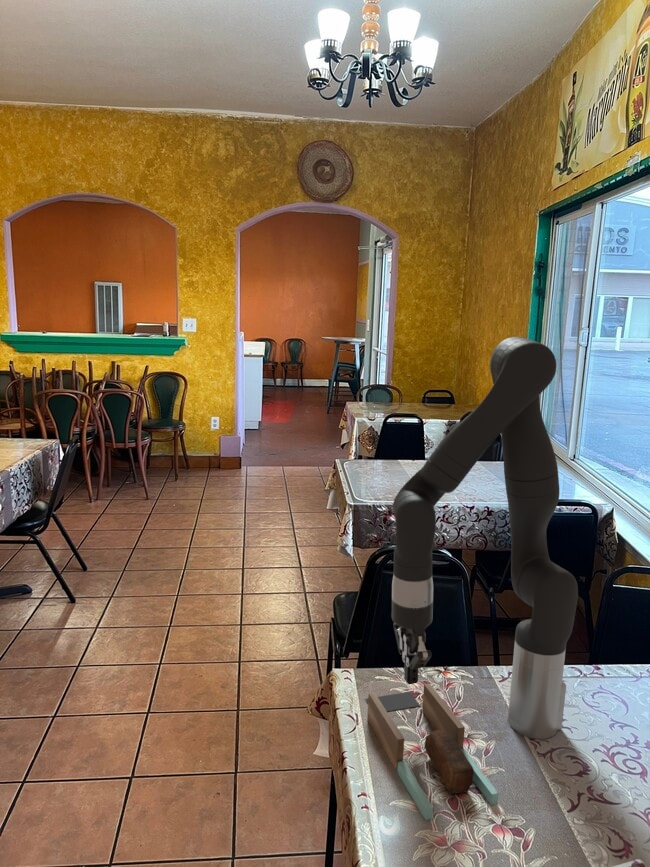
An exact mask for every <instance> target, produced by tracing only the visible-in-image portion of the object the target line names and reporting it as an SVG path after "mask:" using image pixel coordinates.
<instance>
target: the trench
mask: <svg viewBox="0 0 650 867" xmlns="http://www.w3.org/2000/svg"><path fill="white" fill-rule="evenodd" d="M422 693H423V695H422V707H421V708H422V710H421V711H422V713H423V714H424V716H425V718H427V721H429V722H430V724H431V726H432V728H434V731H435V730H438V729H439V730H444V731H445V732H447V733H449V734H451V735H452V737H453V738H454V740H455V741H456V743H457V744H458V746H459V747H460V749H464V743H465V742H464V741H465V729H466V728H465V725H464V724H463V723H462V722H461V721H460V719H459V718H458V717H457V716H456V714H455V713H454V712H453V711H452V710H451V708H450V707H449V706H448V704H447V703H446V702H445V700H444V699H443V698H442V697H441V696H440V695H439V693H438V692H437V691H436V689H435V688H433V686H432V684H431V683H424V684H423V692H422ZM378 697H379V696H378V695H377V694H376V692H368V703H367V717H366V718H367V722H368V724H369V726H370V728H371V729H372V731H373V733H374V734H375V737H376V738H377V740H378V741H379V743H380V745H381V747H382V748H383V750H384V752H385V753H386V755H387V757H388V758H389V761H390V762H391V764H392V765H393V767H394V768H395V771H397V770H398V762H401V761H404V752H405V750H404V749H405V737H404V736H403V734H402V733H401V731H400V729H399V728H398V726H397V725H396V723H395V722H394V721H393V719H392V717H391V715H390V714H389V712H387V711H386V709H385V708H384V706H383V705H382V703H381V702H380V700H379V699H378Z"/></svg>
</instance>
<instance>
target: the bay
mask: <svg viewBox="0 0 650 867" xmlns="http://www.w3.org/2000/svg"><path fill="white" fill-rule="evenodd" d="M461 750H462V752H463V753H464V755H465V756H466V758H467V759H468V761H469V763H470V764H471V765H472V767H473V770H474V775H473V779H472V782H473V783H474V784H475V785H476V787H477V788H478V790H479V791H480V792H481V794H482V795H483V796H484V798H485V799H486V800H487V802H488V804H490V805H491V806H494V805H498V804H499V792H498V791H497V789H496V788H495V787H494V785H493V783H492V782H491V781H490V780H489V778H488V777H487V776H486V775H485V773H484V771H483V770H482V769H481V768H480V767H479V766H478V764H477V763H476V762H475V760H474V759H473V758H472V757H471V755H470V754H469V752H468V751H467V750H466V749H465V748H463V749H461ZM396 772H397V774H398V776H399V777H400V780H401V781H402V783H403V785H404V787H405V788H406V790H407V791H408V793H409V795H410V796H411V797H412V800H413V802H414V803H415V805H416V807H417V808H418V810H419V812H420V813H421V815H422V817H423V818H424V820H425V821H428V820H433V818H434V806H433V805H432V804H431V801H430V800H429V799H428V797H427V795H426V794H425V792H424V790H423V789H422V788H421V786H420V784H419V782H418V781H417V779H416V777H415V776H414V774H413V773H412V771H411V770H410V768H409V766H408V765H407V763H406V761H405V760H403V761H401V762H398V770H396Z"/></svg>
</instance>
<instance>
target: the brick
mask: <svg viewBox="0 0 650 867" xmlns="http://www.w3.org/2000/svg"><path fill="white" fill-rule="evenodd" d="M424 749H425V751H426V753H427V755H428V758H429V760H430V762H431V763H432V766H433V767H434V769H435V770H436V772H437V773H438V775H439V777H440V779H441V781H442V783H443V784H444V787H445V788H446V790H447V791H448V793H449V794H450V795H453V794H462V793H468V792H469V790H470V787H472V785H473V780H472V779H473V775H474V770H473V767H472V765H471V764H470V763H469V761H468V759H467V758H466V756H465V755H464V753H463V752H462V750H461V749H460V747H459V746H458V744H457V743H456V741H455V740H454V738H453V737H452V735H451V734H449V733H447V732H445V731H444V730H439V729H438V730H435V729H434V730H433V731H430V733H429V734H428V735H427V736H426V737H425V743H424Z"/></svg>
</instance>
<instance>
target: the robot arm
mask: <svg viewBox="0 0 650 867" xmlns="http://www.w3.org/2000/svg"><path fill="white" fill-rule="evenodd" d="M556 359H557V358H556V356H555V354H554V352H553V351H552V349H551V348H549V346H547V345H545V344H543V343H541V342H540V341H539V342H538V341H535V340H533V339H529V338H525V337H521V336H520V337H519V336H512V337H508V338H505V339H503V340H502V341H501V342H500V343H499V344H498V345H496V346H495V348H494V349H493V352H492V354H491V358H490V362H489V370H490V374H491V379H492V383H493V384H492V387H491V389H490V391H488V393H487V394H486V396H485V397H484V398H483V400H482V401H481V402H480V403H479V404H478V405H477V407H475V409H473V411H471V412H470V414H468V415H466V417H464V419H463V420H461V421H460V422H459V423H457V425H455V427H453V428H452V429H450V431H449V432H448V433H447V434H446V435H445V436H444V438H443V439H442V440H441V441H440V443H439V444H438V445H437V446H436V448H435V449H433V450H434V451H432V453H431V455H430V456H429V457H428V459H427V460H426V461H425V463H424V465H423V466H422V467H421V468H420V469H419V470H418V471H416V473H415V474H414V475H412V477H410V478H409V480H408V481H407V482H405V484H404V485H403V486H401V488H400V489H399V491H398V492H397V494H396V496H395V498H394V499H393V504H392V511H393V515H394V519H395V533H396V534H395V540H396V542H395V543H396V545H395V546H394V550H393V576H392V582H391V619H392V622H393V624H392V625H393V631H394V634H395V639H396V644H397V649H398V653H399V655H400V656H401V655H402V656H401V658H402V662H403V663H404V664H403V665H404V667H403V668H404V669H403V670H404V671H403V672H404V674H403V675H404V676H403V679H404V681H405V682H406V684H407V685H414V684H417V683H418V682H419V669H422V668H425V667H426V665H427V663H429V661H430V659H431V658H432V656H433V654H432V650H430V649H429V650H427V649H426V646H425V643H426V642H427V639H426V636H427V635H426V631H425V630H426V628H427V627H428V626H430V625H431V624H432V622H433V618H434V617H433V613H434V612H433V610H434V581H433V547H434V542H435V535H436V528H437V526H436V525H437V517H436V510H435V506H436V504H438V502H439V501H440V500H441V498H443V496H444V495H445V494H450V493H453V492H454V491H455V490H456V489H457V488H458V487H459V486H460V485H461V483H462V482H463V480H465V478H466V477H467V475H468V474H469V472H471V470H472V469H473V468H474V466H475V464H477V462H478V461H479V459H480V458H481V457H482V456H483V454H484V453H485V452H486V450H487V449H489V447H490V446H491V445H492V443H493V442H494V441H495V440H496V439H497V437H499V436H500V435H501V436H500V438H501V448H502V450H501V451H502V459H503V473H504V482H505V483H504V484H505V492H506V499H507V504H508V505H507V506H508V507H507V508H508V519H509V527H510V536H511V537H510V539H511V540H510V541H511V542H510V543H511V544H510V545H511V546H510V548H511V550H510V551H511V553H510V554H511V555H510V556H511V557H510V559H511V560H510V561H511V562H510V564H511V565H510V573H511V574H510V577H511V585H512V588H513V591H514V593H515V594H516V596H517V597H518V598H519V599H520V600H522V601H523V602H524V603H525V604H527V605H528V606H529V607H531V608H532V614H531V618H529V619H525V620H522V621H520V622H518V624H517V625H516V628H515V636H514V646H513V657H512V658H513V659H512V669H511V679H510V680H511V681H510V689H509V690H510V691H509V702H508V710H507V711H508V713H507V721H508V724H509V726H510V727H511V728H512V729H513V730H514V731H515V732H517V733H519V734H520V735H522V736H525V737H527V738H531V739H537V740H545V739H549V738H551V737H554V736H555V735H556V734H557V732H558V731H561V730H562V729H563V720H564V711H565V701H566V691H567V685H566V683H565V682H564V681H563V679H564V678H563V677H564V669H565V658H566V649H567V642H568V641H569V639H570V636H571V635H572V632H573V628H574V622H575V616H576V610H577V605H578V600H579V599H578V598H579V589H578V588H579V587H578V583H577V580H576V578H575V576H574V575H573V574H572V573H571V572H569V571H568V570H567V569H565V568H563V567H561V566H560V565H558V564H556V563H555V562H553V561H552V560H551V558H550V555H549V551H548V542H547V529H548V525H549V522H550V521H551V518H552V517H553V515H554V513H555V511H556V509H557V506H558V503H559V500H560V480H559V468H558V462H557V458H556V454H555V449H554V446H553V444H552V441H551V438H550V436H549V433H548V431H547V428H546V424H545V422H544V419H543V416H542V411H541V402H540V399H541V398H540V395H541V394H542V393H543V392H544V390H546V388H548V387H549V385H550V384H551V383H552V381H553V379H554V378H555V375H556V371H557V360H556Z"/></svg>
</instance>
